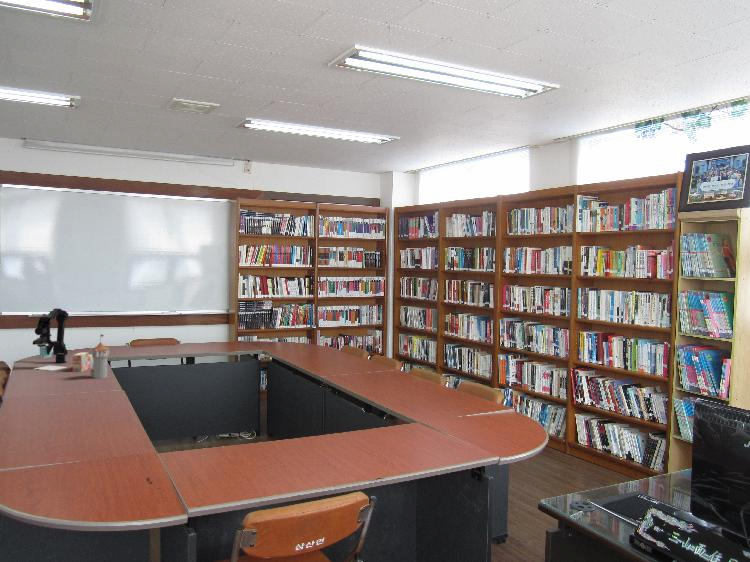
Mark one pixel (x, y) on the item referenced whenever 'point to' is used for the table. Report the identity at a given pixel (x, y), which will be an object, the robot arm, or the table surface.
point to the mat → (50, 368)
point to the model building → (100, 360)
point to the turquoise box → (44, 352)
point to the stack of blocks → (82, 362)
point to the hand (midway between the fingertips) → (45, 354)
